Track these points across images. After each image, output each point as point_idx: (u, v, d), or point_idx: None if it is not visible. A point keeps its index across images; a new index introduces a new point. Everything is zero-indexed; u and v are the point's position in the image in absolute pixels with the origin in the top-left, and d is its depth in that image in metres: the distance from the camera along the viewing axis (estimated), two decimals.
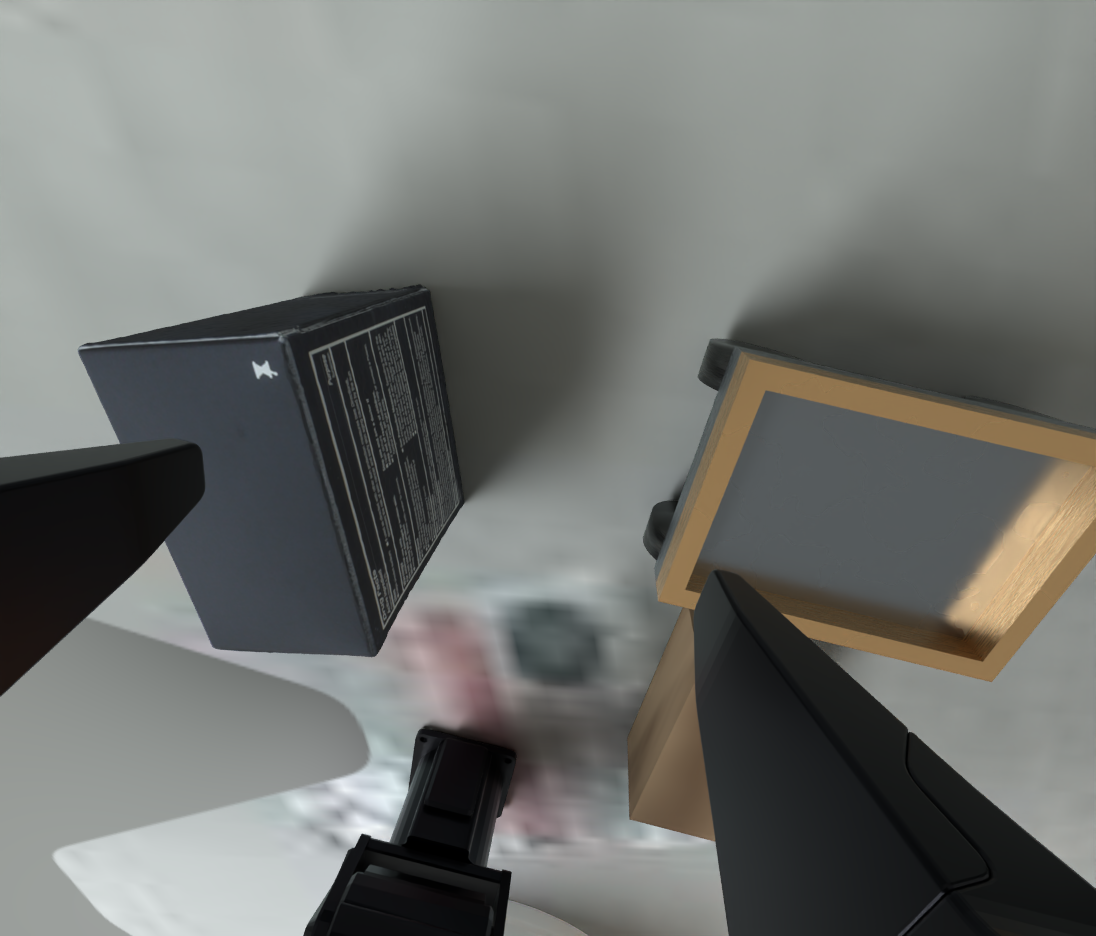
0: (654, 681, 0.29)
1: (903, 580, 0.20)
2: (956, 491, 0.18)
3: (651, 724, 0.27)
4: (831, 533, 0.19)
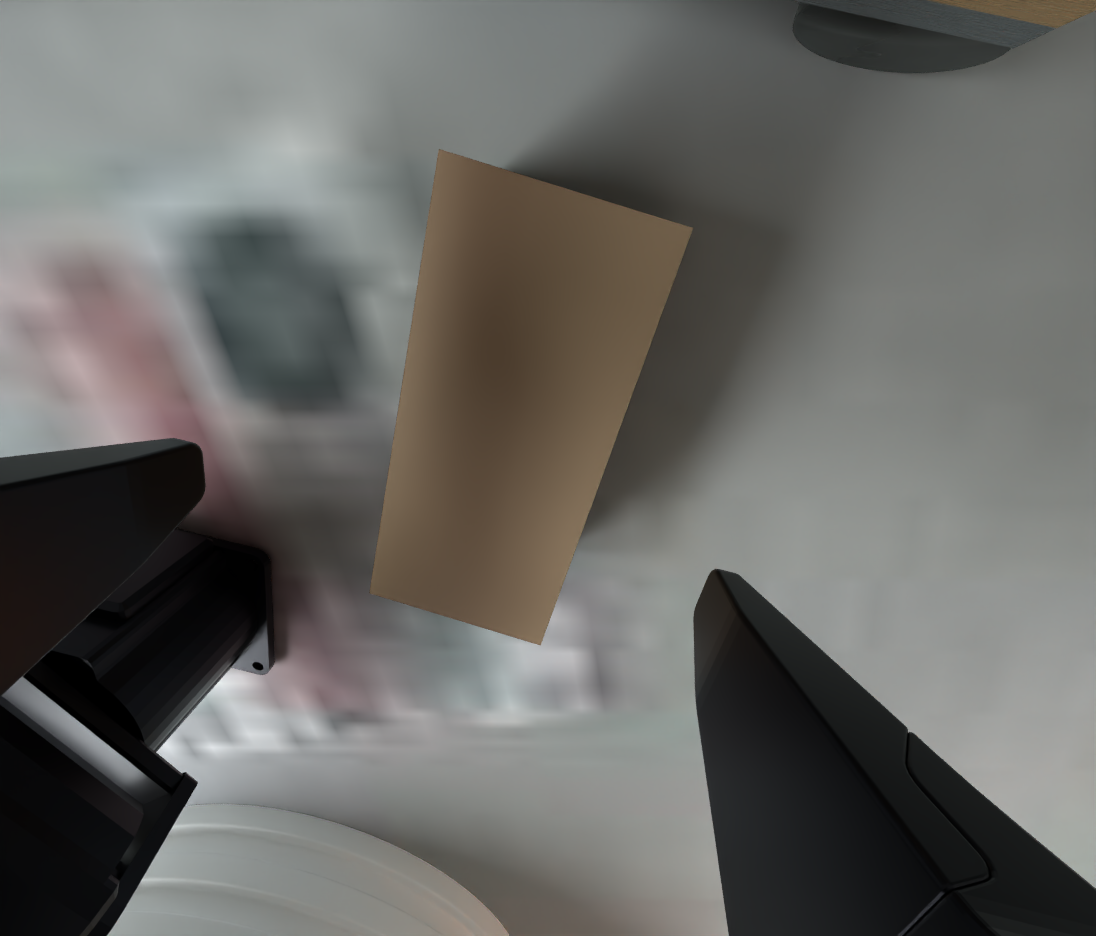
0: None
1: None
2: None
3: None
4: None
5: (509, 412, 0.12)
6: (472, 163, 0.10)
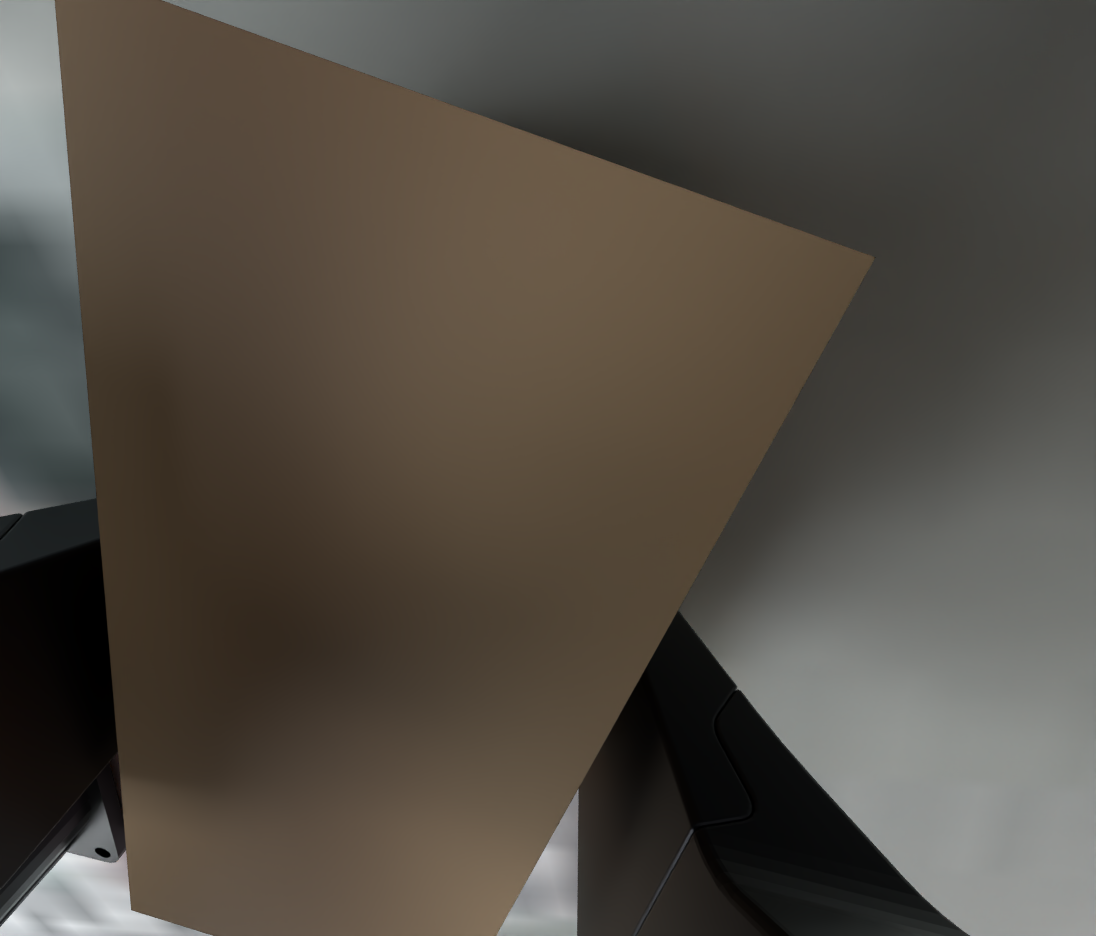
0: None
1: None
2: None
3: None
4: None
5: (357, 665, 0.05)
6: (165, 15, 0.03)
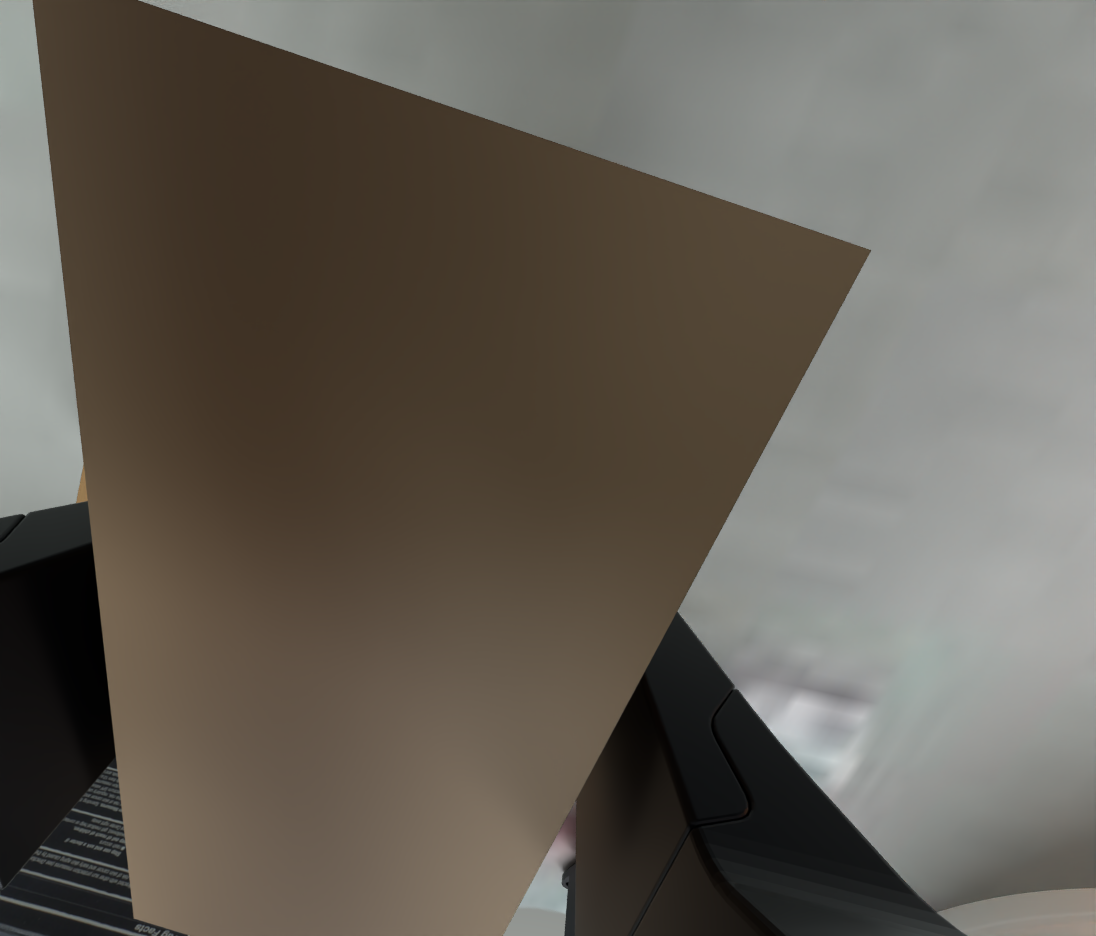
0: None
1: None
2: None
3: None
4: None
5: (353, 671, 0.05)
6: (144, 16, 0.03)
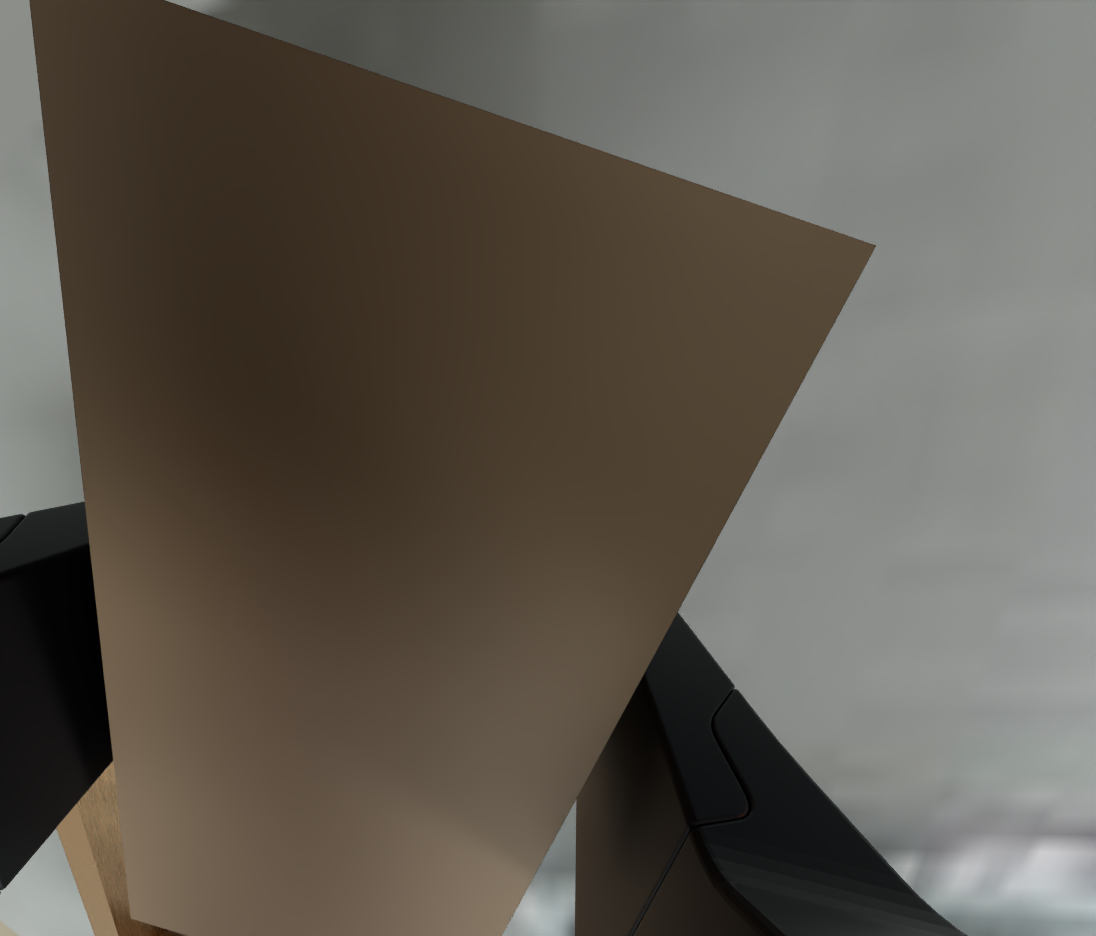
0: None
1: None
2: None
3: None
4: None
5: (351, 670, 0.05)
6: (141, 6, 0.03)
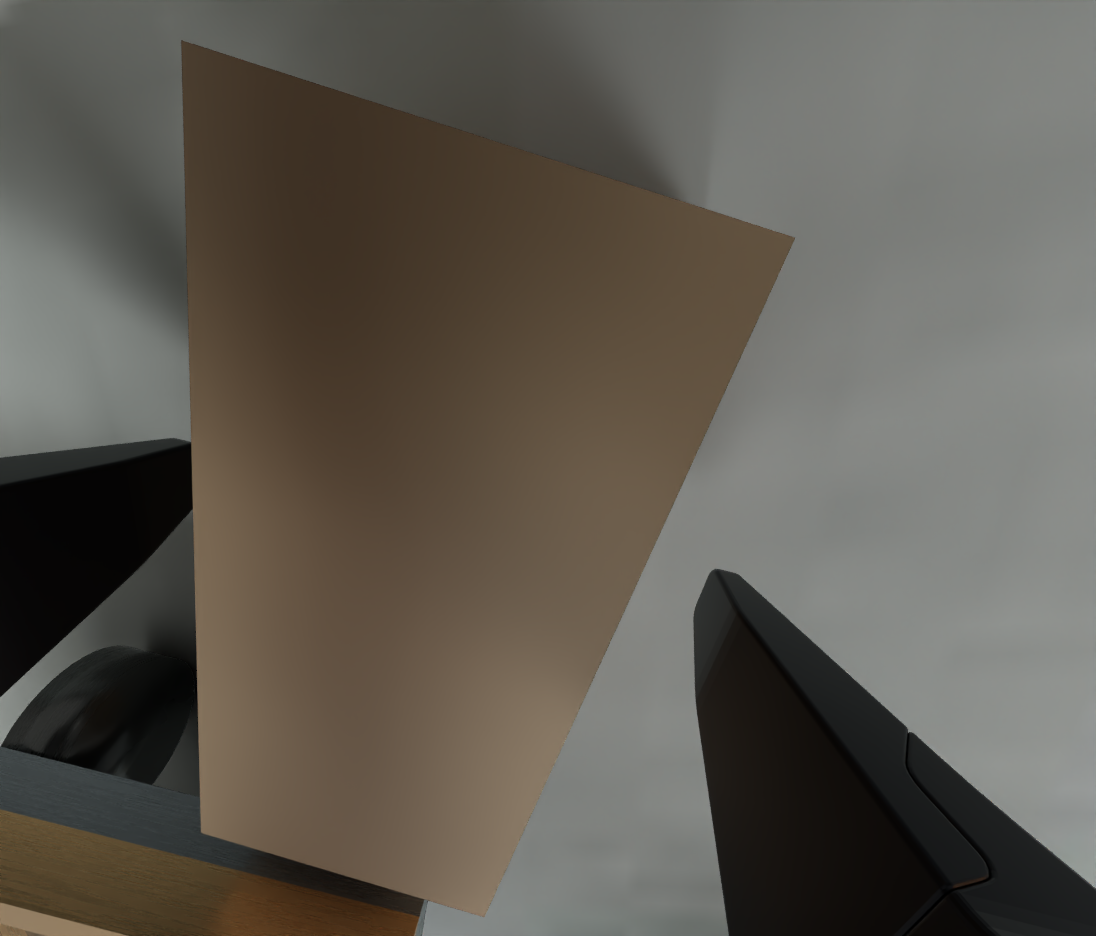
0: None
1: None
2: None
3: None
4: None
5: (401, 589, 0.06)
6: (264, 77, 0.04)
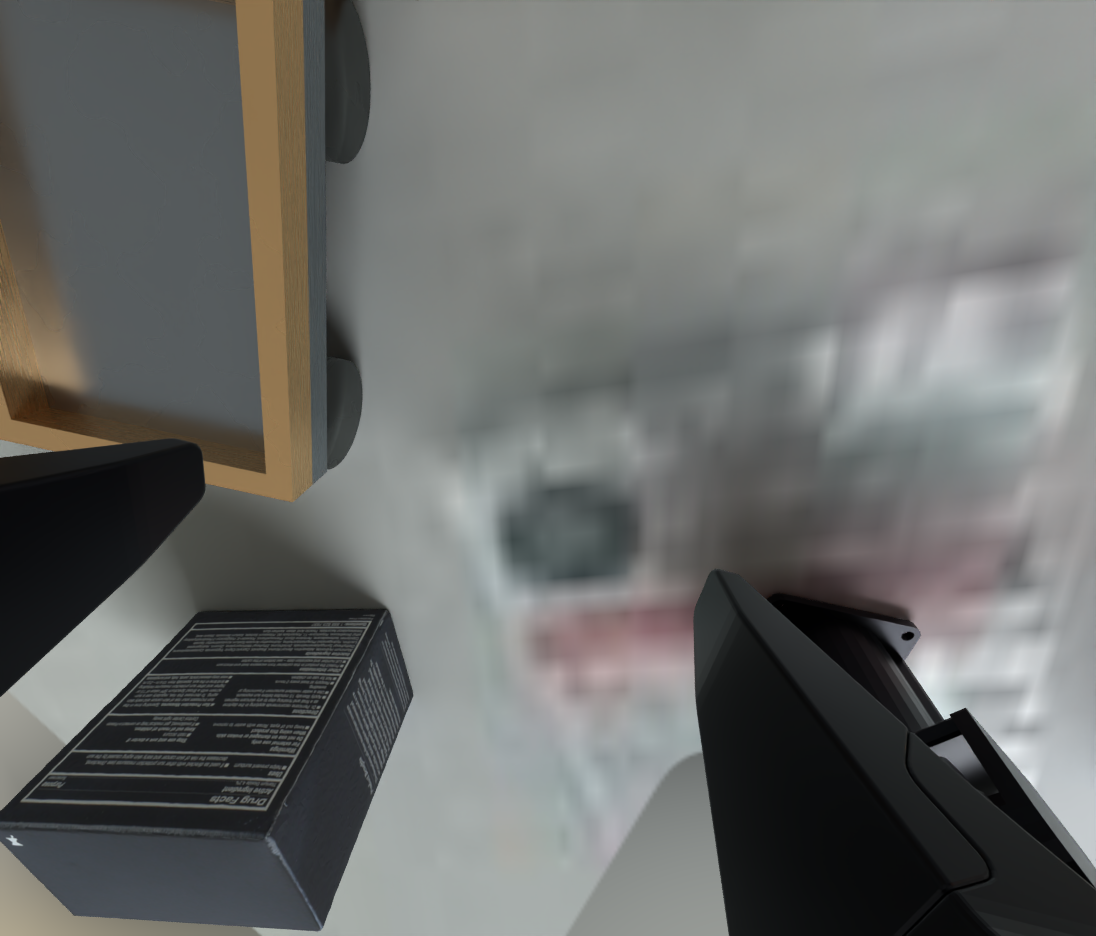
0: None
1: (202, 163, 0.13)
2: (55, 137, 0.13)
3: None
4: (174, 288, 0.15)
5: None
6: None
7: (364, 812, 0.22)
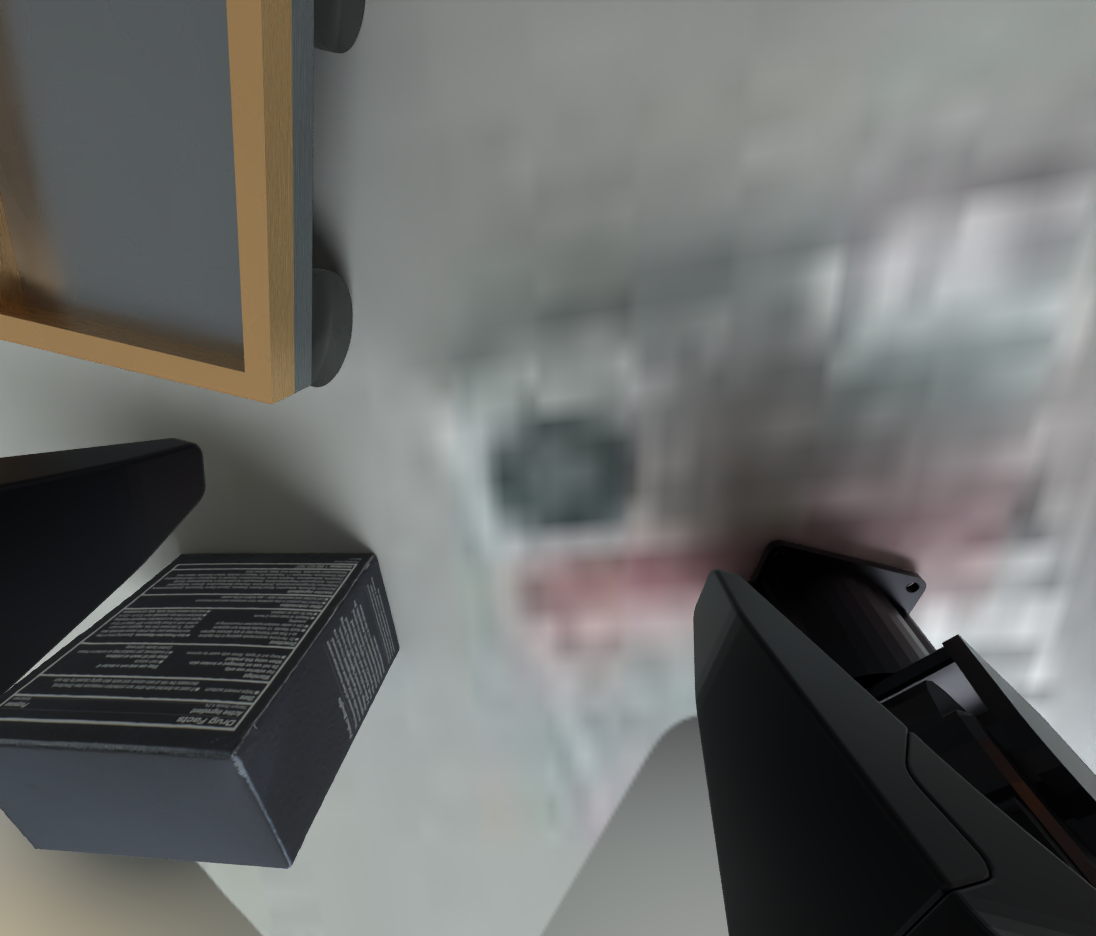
0: None
1: (185, 30, 0.13)
2: (35, 0, 0.13)
3: None
4: (154, 171, 0.14)
5: None
6: None
7: (342, 755, 0.21)
